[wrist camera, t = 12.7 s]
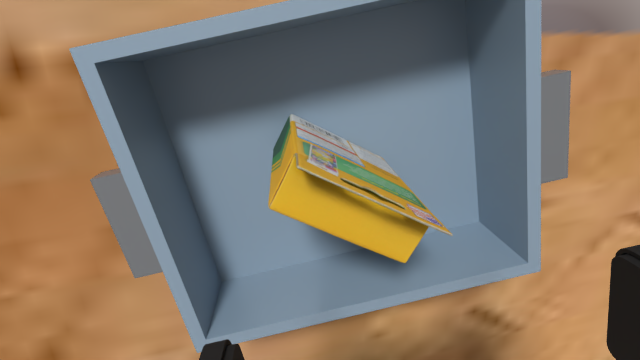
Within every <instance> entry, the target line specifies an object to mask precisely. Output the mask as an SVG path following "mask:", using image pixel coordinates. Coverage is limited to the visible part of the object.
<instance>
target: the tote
mask: <svg viewBox="0 0 640 360" xmlns="http://www.w3.org/2000/svg"><path fill="white" fill-rule="evenodd" d="M69 50H70V52H71V54H72V57H73V59H74V62H75V64H76V66H77V69H78V71H79V73H80V76H81V78H82V81H83V83H84V85H85V88H86V90H87V92H88V95H89V97H90V100H91V102H92V104H93V107H94V109H95V111H96V114H97V116H98V119H99V121H100V123H101V126H102V128H103V130H104V133H105V135H106V138H107V140H108V142H109V145H110V147H111V149H112V152H113V154H114V157H115V159H116V161H117V164H118V166H119V169H114V170H110V171H105V172H101V173H100V174H98V175H96V176H95V177H93V178H92V179H90V181H91V183H92V185H93V188H94V190H95V192H96V194H97V196H98V198H99V201H100V203H101V205H102V207H103V209H104V212H105V214H106V216H107V218H108V220H109V223H110V225H111V227H112V229H113V231H114V234H115V236H116V238H117V240H118V242H119V245H120V247H121V249H122V251H123V253H124V256H125V258H126V260H127V262H128V264H129V266H130V269H131V271H132V273H133V275H134V277H135V278H138V277H143V276H147V275H151V274H155V273H160V272H163V273H164V275H165V278H166V280H167V282H168V285H169V287H170V290H171V292H172V294H173V297H174V299H175V301H176V304H177V306H178V309H179V311H180V313H181V316H182V318H183V320H184V323H185V325H186V328H187V330H188V332H189V335H190V337H191V339H192V342H193V344H194V347H195V349H196V351H197V353H199V352H202V349H203V347H204V345H205V344H209V343H213V342H217V341H222V340H226V339H229V340H230V341H231V343H232V344H236V343H241V342H245V341H249V340H253V339H257V338H262V337H266V336H270V335H274V334H278V333H283V332H287V331H291V330H295V329H299V328H304V327H308V326H312V325H316V324H320V323H325V322H329V321H333V320H337V319H341V318H346V317H350V316H354V315H358V314H362V313H367V312H371V311H375V310H379V309H383V308H388V307H392V306H396V305H400V304H404V303H409V302H413V301H417V300H421V299H425V298H430V297H434V296H438V295H442V294H446V293H451V292H455V291H459V290H463V289H467V288H472V287H476V286H480V285H484V284H488V283H493V282H497V281H501V280H505V279H509V278H514V277H518V276H522V275H526V274H530V273H535V272H539V271H541V184H542V183H546V182H550V181H555V180H559V179H563V178H568V149H569V116H570V82H571V71H567V70H551V71H547V72H542V73H541V0H289V1H285V2H280V3H275V4H271V5H266V6H262V7H257V8H253V9H248V10H243V11H239V12H234V13H230V14H225V15H221V16H216V17H212V18H207V19H202V20H198V21H193V22H189V23H184V24H180V25H175V26H170V27H166V28H161V29H157V30H152V31H148V32H143V33H138V34H134V35H129V36H125V37H120V38H116V39H111V40H107V41H102V42H97V43H93V44H88V45H84V46H79V47H75V48H70V49H69ZM291 114H293V115H296V116H298V117H300V118H302V119H304V120H306V121H308V122H310V123H312V124H314V125H316V126H318V127H321V128H323V129H325V130H327V131H329V132H331V133H333V134H335V135H337V136H339V137H341V138H343V139H345V140H347V141H349V142H351V143H353V144H355V145H357V146H360V147H362V148H364V149H366V150H368V151H370V152H372V153H374V154H376V155H378V156H381V157H382V158H383V159H384V160H385V161H386V162H387V164H388V165H389V166H390V167H391V168H392V169H393V170H394V171H395V173H396V174H397V175H398V176H399V177H400V178H401V179H402V181H403V182H404V183H405V184H406V185H407V186H408V187H409V188H410V189H411V190H412V192H413V193H414V194H415V195H416V196H417V197H418V198H419V199H420V200H421V202H422V203H423V204H424V205H425V206H426V207H427V208H428V209H429V211H430V212H431V213H432V214H433V215H434V216H435V217H436V218H437V219H438V220H439V221H440V222H441V223H442V224H443V225H444V226H445V227H446V228H447V229H448V230H449V231H450V232H451V233H452V235H453V236H450V235H447V234H445V233H442V232H440V231H438V230H435V229H433V228H431V227H429V228H428V229H427V231H426V232H425V234H424V236H423V237H422V239H421V241H420V242H419V244H418V245H417V247H416V248H415V250H414V251H413V253H412V254H411V256H410V257H409V259H408V261H407V262H406V263H402V262H399V261H396V260H394V259H392V258H388V257H386V256H384V255H381V254H379V253H376V252H374V251H371V250H369V249H366V248H363V247H361V246H359V245H356V244H354V243H351V242H349V241H346V240H344V239H341V238H339V237H336V236H334V235H332V234H329V233H327V232H324V231H322V230H319V229H317V228H315V227H312V226H310V225H307V224H305V223H303V222H300V221H298V220H295V219H292V218H290V217H288V216H285V215H283V214H280V213H278V212H276V211H273V210H271V209H269V207H268V201H269V192H270V180H271V170H272V159H273V149H274V146H275V144H276V142H277V140H278V138H279V136H280V134H281V131H282V129H283V127H284V125H285V123H286V121H287V119H288V117H289V116H290V115H291Z"/></svg>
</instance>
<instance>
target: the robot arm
mask: <svg viewBox="0 0 640 360" xmlns="http://www.w3.org/2000/svg"><path fill="white" fill-rule="evenodd" d="M607 346H608V349H609V351H610V353H611V354H612V355H613V357H614V358H615V359H616V360H640V245H636V246H632V247H628V248H623V249H620V250H618V252H617V253H616V256H615V257H614V258H613V259H612V263H611V279H610V295H609V312H608V328H607ZM199 360H244V357H243V354H242V352H241V349H240V346H239V345H238V344H233V345H232V343H231V341H230V340H229V339H226V340H222V341H217V342H213V343H209V344H205V345H204V347H203V349H202V352H201V355H200V358H199Z"/></svg>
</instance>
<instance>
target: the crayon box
mask: <svg viewBox="0 0 640 360" xmlns="http://www.w3.org/2000/svg"><path fill="white" fill-rule="evenodd" d="M268 207H269V209H271V210H273V211H276V212H278V213H280V214H283V215H285V216H288V217H290V218H292V219H295V220H298V221H300V222H303V223H305V224H307V225H310V226H312V227H315V228H317V229H319V230H322V231H324V232H327V233H329V234H332V235H334V236H336V237H339V238H341V239H344V240H346V241H349V242H351V243H354V244H356V245H359V246H361V247H363V248H366V249H369V250H371V251H374V252H376V253H379V254H381V255H384V256H386V257H388V258H392V259H394V260H396V261H399V262H402V263H406V262H407V261H408V259H409V257H410V256H411V254H412V253H413V251H414V250H415V248H416V247H417V245H418V244H419V242H420V241H421V239H422V237H423V236H424V234H425V232H426V231H427V229H428V228H429V227H431V228H433V229H435V230H438V231H440V232H442V233H445V234H447V235H450V236H453V235H452V233H451V232H450V231H449V230H448V229H447V228H446V227H445V226H444V225H443V224H442V223H441V222H440V221H439V220H438V219H437V218H436V217H435V216H434V215H433V214H432V213H431V212H430V211H429V209H428V208H427V207H426V206H425V205H424V204H423V203H422V202H421V200H420V199H419V198H418V197H417V196H416V195H415V194H414V193H413V192H412V190H411V189H410V188H409V187H408V186H407V185H406V184H405V183H404V182H403V181H402V179H401V178H400V177H399V176H398V175H397V174H396V173H395V171H394V170H393V169H392V168H391V167H390V166H389V165H388V164H387V162H386V161H385V160H384V159H383V158H382V157H381V156H378V155H376V154H374V153H372V152H370V151H368V150H366V149H364V148H362V147H360V146H357V145H355V144H353V143H351V142H349V141H347V140H345V139H343V138H341V137H339V136H337V135H335V134H333V133H331V132H329V131H327V130H325V129H323V128H321V127H318V126H316V125H314V124H312V123H310V122H308V121H306V120H304V119H302V118H300V117H298V116H296V115H293V114H291V115H290V116H289V117H288V119H287V121H286V123H285V125H284V127H283V129H282V131H281V134H280V136H279V138H278V140H277V142H276V144H275V146H274V149H273V159H272V170H271V180H270V192H269V201H268Z"/></svg>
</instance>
